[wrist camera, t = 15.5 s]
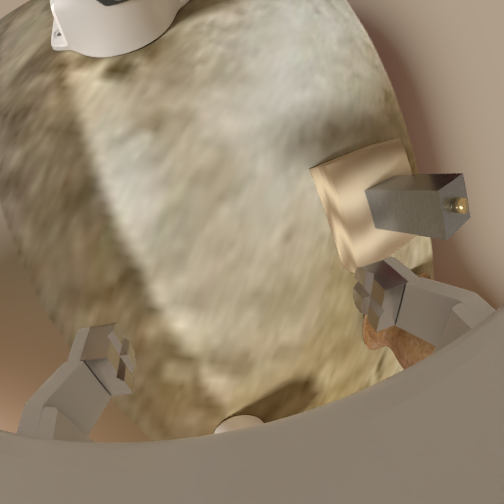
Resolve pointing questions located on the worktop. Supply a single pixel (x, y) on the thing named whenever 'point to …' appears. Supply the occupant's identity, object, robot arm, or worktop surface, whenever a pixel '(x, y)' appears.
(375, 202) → the block
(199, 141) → the worktop surface
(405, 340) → the brown piece
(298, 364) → the worktop surface
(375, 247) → the maple stand
